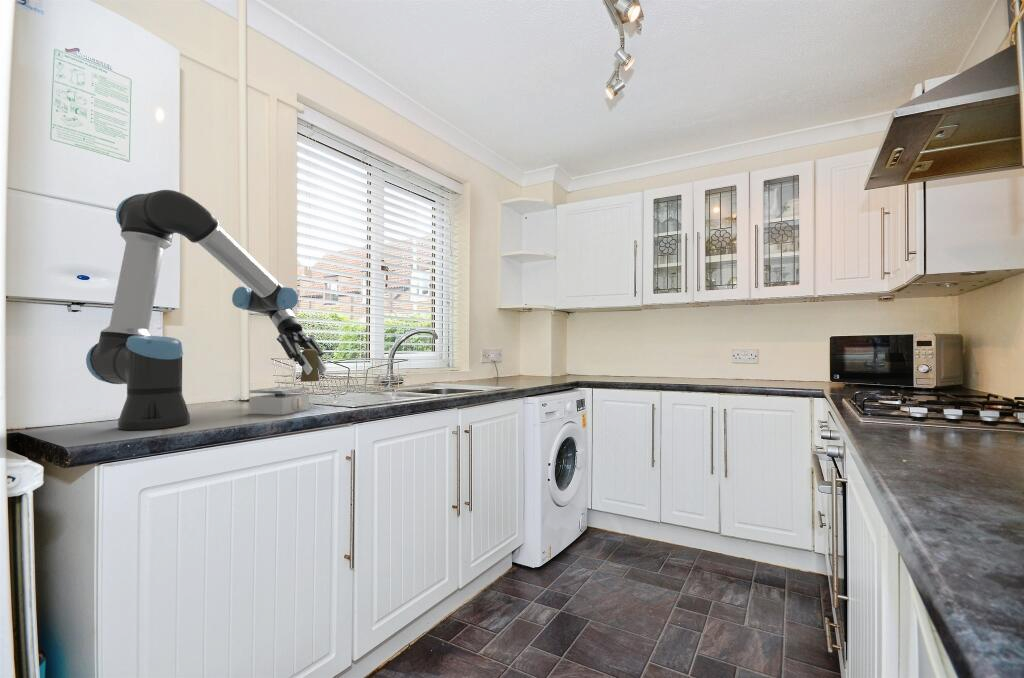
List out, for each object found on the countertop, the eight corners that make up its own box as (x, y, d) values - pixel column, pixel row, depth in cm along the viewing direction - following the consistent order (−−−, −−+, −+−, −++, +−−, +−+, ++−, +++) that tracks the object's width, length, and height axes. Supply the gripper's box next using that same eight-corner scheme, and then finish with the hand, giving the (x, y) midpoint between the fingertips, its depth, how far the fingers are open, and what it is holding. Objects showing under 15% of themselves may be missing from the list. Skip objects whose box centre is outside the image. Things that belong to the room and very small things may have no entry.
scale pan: (282, 393, 145) (282, 391, 145) (249, 393, 148) (249, 390, 148) (309, 390, 157) (309, 387, 157) (277, 389, 160) (277, 386, 160)
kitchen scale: (284, 414, 145) (284, 394, 145) (249, 413, 148) (249, 393, 148) (311, 409, 157) (311, 390, 157) (277, 408, 160) (277, 390, 160)
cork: (322, 380, 170) (322, 349, 171) (313, 381, 164) (314, 349, 165) (306, 380, 171) (306, 349, 171) (296, 381, 165) (297, 348, 165)
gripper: (304, 332, 184) (333, 377, 175) (258, 331, 168) (288, 380, 159) (313, 318, 181) (344, 363, 172) (268, 315, 165) (298, 364, 157)
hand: (317, 371), depth 166 cm, fingers closed on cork, 5 cm apart
